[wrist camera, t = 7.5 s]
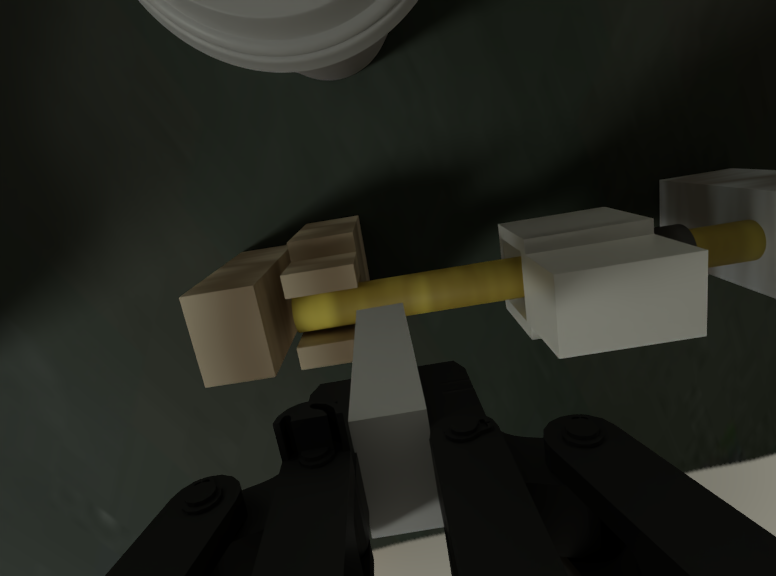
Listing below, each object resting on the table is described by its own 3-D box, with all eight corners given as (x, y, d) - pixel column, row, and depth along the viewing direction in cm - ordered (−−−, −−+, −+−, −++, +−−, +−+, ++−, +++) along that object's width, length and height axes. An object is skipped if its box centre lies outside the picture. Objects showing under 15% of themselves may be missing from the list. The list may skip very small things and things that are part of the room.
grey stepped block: (506, 307, 24) (560, 374, 17) (497, 224, 23) (552, 256, 15) (607, 291, 24) (706, 352, 16) (604, 206, 22) (708, 231, 15)
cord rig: (261, 332, 29) (207, 414, 20) (237, 235, 27) (166, 276, 18) (728, 258, 28) (894, 308, 19) (731, 153, 27) (915, 153, 18)
